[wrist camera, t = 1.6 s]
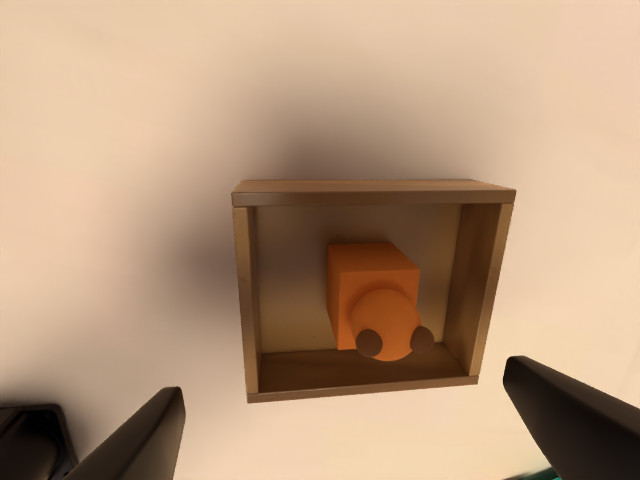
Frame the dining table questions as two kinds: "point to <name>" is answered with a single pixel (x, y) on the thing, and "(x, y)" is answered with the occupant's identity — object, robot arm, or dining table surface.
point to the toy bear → (375, 301)
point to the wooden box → (361, 228)
